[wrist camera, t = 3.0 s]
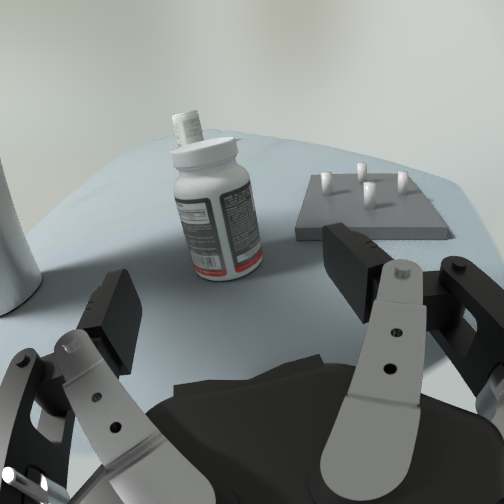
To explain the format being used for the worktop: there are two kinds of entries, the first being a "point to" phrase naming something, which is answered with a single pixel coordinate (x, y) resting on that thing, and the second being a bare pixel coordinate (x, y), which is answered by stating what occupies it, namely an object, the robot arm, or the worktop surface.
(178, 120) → the supplement tub
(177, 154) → the pill bottle
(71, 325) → the worktop surface
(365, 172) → the grey pegged board
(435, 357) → the worktop surface
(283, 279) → the worktop surface
